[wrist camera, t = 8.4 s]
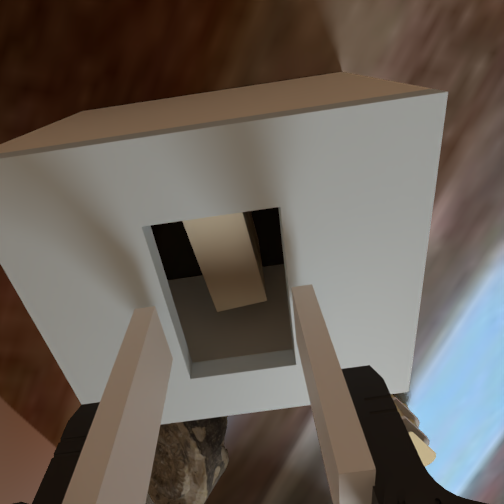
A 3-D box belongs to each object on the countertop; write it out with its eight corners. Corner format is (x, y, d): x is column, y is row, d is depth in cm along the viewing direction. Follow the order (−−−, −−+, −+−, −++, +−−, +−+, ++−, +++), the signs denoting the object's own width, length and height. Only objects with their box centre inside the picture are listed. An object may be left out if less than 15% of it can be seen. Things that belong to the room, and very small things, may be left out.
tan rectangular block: (258, 239, 25) (267, 300, 19) (220, 248, 25) (216, 312, 19) (236, 157, 22) (238, 199, 16) (193, 168, 22) (179, 214, 16)
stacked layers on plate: (321, 398, 37) (335, 450, 32) (402, 362, 35) (430, 412, 30) (360, 444, 41) (377, 496, 36) (434, 414, 39) (462, 465, 34)
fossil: (120, 387, 33) (154, 487, 26) (210, 357, 38) (260, 434, 30) (126, 458, 38) (156, 559, 31) (205, 424, 43) (247, 505, 35)
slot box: (343, 266, 28) (408, 392, 18) (146, 293, 29) (97, 432, 18) (342, 71, 21) (447, 91, 11) (82, 111, 22) (-56, 166, 11)
